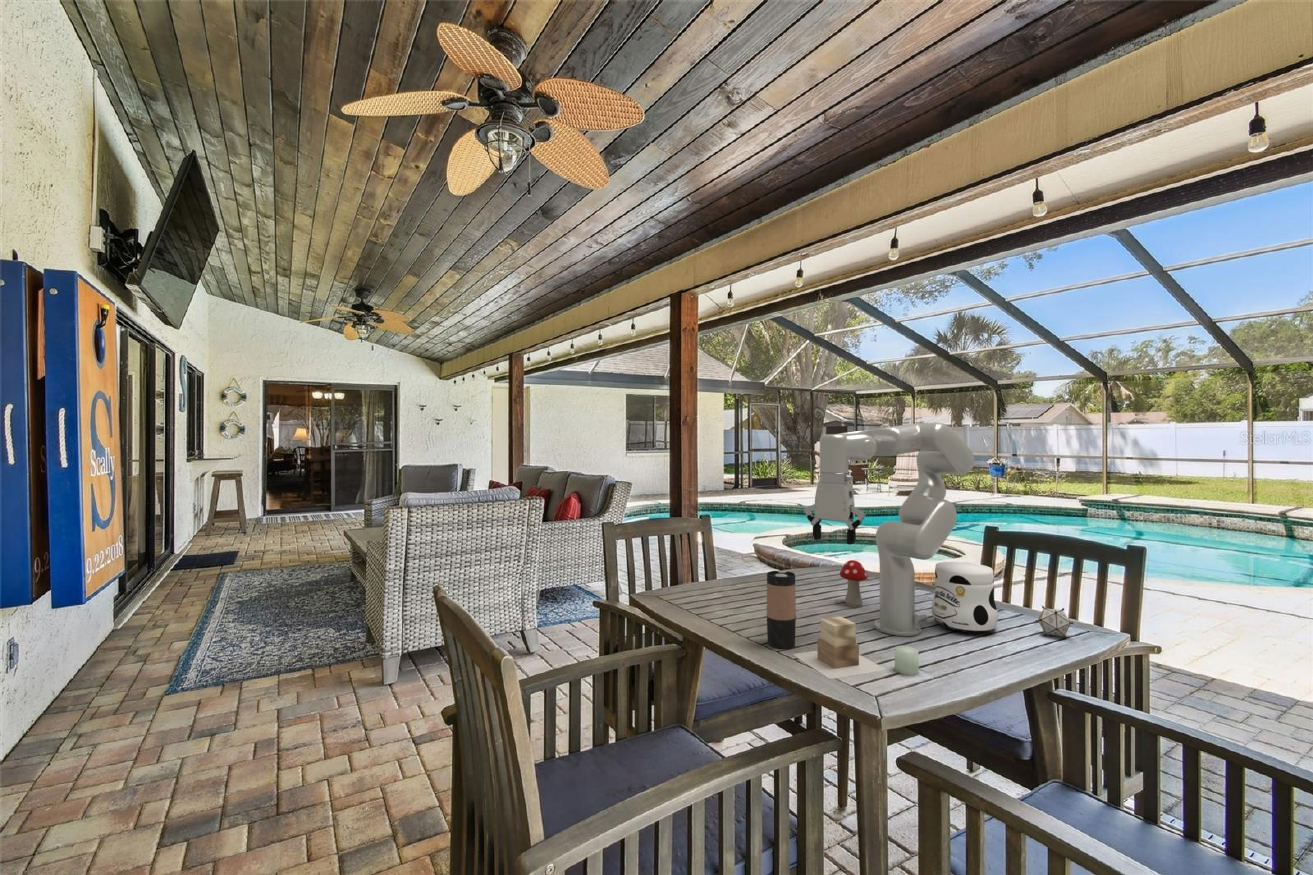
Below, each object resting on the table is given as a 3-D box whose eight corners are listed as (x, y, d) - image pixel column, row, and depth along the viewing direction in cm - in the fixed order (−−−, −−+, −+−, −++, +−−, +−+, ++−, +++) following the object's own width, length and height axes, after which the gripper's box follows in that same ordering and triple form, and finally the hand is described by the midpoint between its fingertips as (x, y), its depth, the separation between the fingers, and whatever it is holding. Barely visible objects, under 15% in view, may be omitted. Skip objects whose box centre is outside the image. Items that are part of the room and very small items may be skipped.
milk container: (923, 628, 170) (923, 567, 170) (941, 614, 183) (941, 558, 183) (990, 642, 158) (990, 576, 158) (1003, 626, 171) (1003, 566, 171)
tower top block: (840, 636, 146) (840, 616, 146) (855, 644, 140) (855, 623, 140) (820, 638, 144) (820, 618, 144) (834, 647, 138) (834, 626, 138)
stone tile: (844, 650, 152) (844, 646, 152) (886, 673, 137) (886, 669, 137) (792, 658, 147) (792, 654, 147) (829, 683, 132) (829, 678, 132)
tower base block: (841, 654, 147) (840, 635, 147) (858, 665, 140) (858, 644, 140) (817, 658, 144) (817, 638, 144) (834, 668, 138) (834, 648, 138)
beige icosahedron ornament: (1057, 647, 164) (1077, 619, 164) (1064, 646, 157) (1084, 616, 157) (1025, 627, 169) (1044, 599, 169) (1030, 624, 161) (1050, 595, 162)
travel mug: (779, 655, 149) (779, 578, 149) (760, 646, 156) (760, 572, 156) (801, 650, 152) (801, 575, 152) (783, 641, 159) (782, 569, 159)
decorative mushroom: (873, 608, 190) (873, 563, 190) (849, 610, 188) (849, 564, 188) (857, 600, 199) (857, 556, 199) (834, 601, 198) (834, 557, 198)
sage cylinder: (907, 669, 140) (907, 644, 140) (923, 678, 135) (923, 652, 135) (890, 672, 138) (889, 647, 138) (905, 681, 133) (905, 655, 133)
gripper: (870, 480, 154) (870, 543, 154) (811, 477, 166) (811, 536, 166) (858, 481, 149) (858, 547, 149) (798, 478, 161) (798, 539, 161)
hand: (833, 541), depth 158 cm, fingers open, 9 cm apart
